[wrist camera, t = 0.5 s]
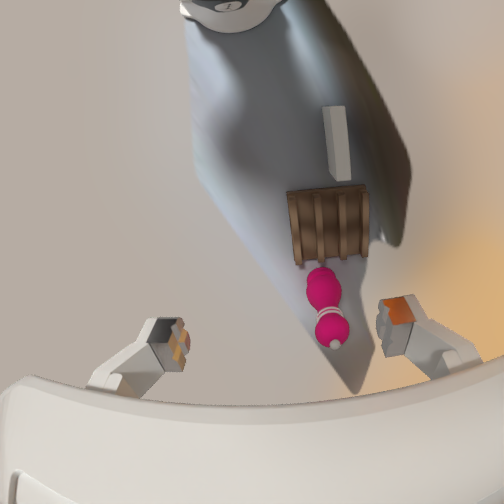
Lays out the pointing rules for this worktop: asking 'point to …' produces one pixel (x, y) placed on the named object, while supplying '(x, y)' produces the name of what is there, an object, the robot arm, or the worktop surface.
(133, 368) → the robot arm
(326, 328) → the pepper mill
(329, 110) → the clay strip
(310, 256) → the walnut rack
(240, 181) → the worktop surface
